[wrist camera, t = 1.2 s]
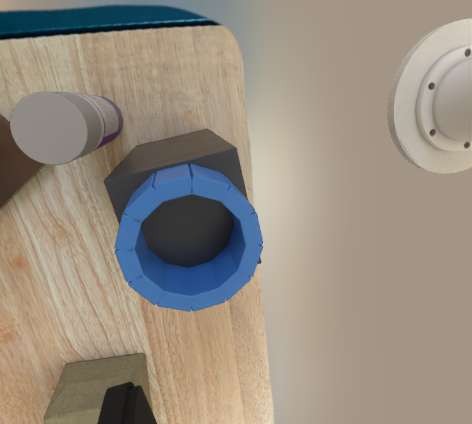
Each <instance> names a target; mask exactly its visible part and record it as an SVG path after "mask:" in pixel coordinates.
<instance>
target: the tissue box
mask: <svg viewBox="0 0 472 424" xmlns="http://www.w3.org/2000/svg"><path fill="white" fill-rule="evenodd" d="M127 382H132V383H133V384H134V386H138V385H141V386H142V388H143V391H144V393H145V396H146V398H147V400H148V403H149V405H150V408H151V410H152V407H151V399H150V391H149V382H148V374H147V366H146V358H145V354H136V355H129V356H121V357H114V358H107V359H99V360H92V361H84V362H77V363H69V364H66V365H65V368H64V370H63V372H62V375H61V377H60V380H59V382H58V384H57V387H56V389H55V392H54V394H53V397H52V399H51V401H50V404H49V406H48V409H47V411H46V413H45V416H44V422H45V424H97V423H98V419H99V415H100V411H101V407H102V403H103V399H104V396H105V392H106V390H107V389H108V388H110V387H113V386H117V385H120V384H123V383H127Z"/></svg>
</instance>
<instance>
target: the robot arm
mask: <svg viewBox="0 0 472 424" xmlns="http://www.w3.org/2000/svg"><path fill="white" fill-rule="evenodd" d="M416 118H417V124H418V127H419V130H420V132H421V134H422V135H423V137H424V139H425V140H426V141H427V142H428V143H429V144H430V145H432V146H433V147H435V148H436V149H439V150H442V151H447V152H464V151H468V150H471V149H472V45H468V46H463V47H459V48H457V49H454V50H452V51H450V52H448V53H447V54H445V55H444V56H442V57H441V58H440V59H439V60H438V61H437V62H436V63H435V64H434V65H433V66H432V67H431V69H430V70H429V71H428V73H427V74H426V76H425V78H424V80H423V82H422V84H421V87H420V89H419V92H418V97H417V101H416ZM97 424H157V422H156V420H155V418H154V415H153V413H152V410H151V408H150V405H149V403H148V400H147V398H146V396H145V393H144V391H143V388H142V386H141V385H138V386H134V384H133V383H132V382H127V383H123V384H120V385H117V386H113V387H110V388H108V389H107V390H106V392H105V396H104V399H103V403H102V407H101V411H100V415H99V419H98V423H97Z"/></svg>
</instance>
